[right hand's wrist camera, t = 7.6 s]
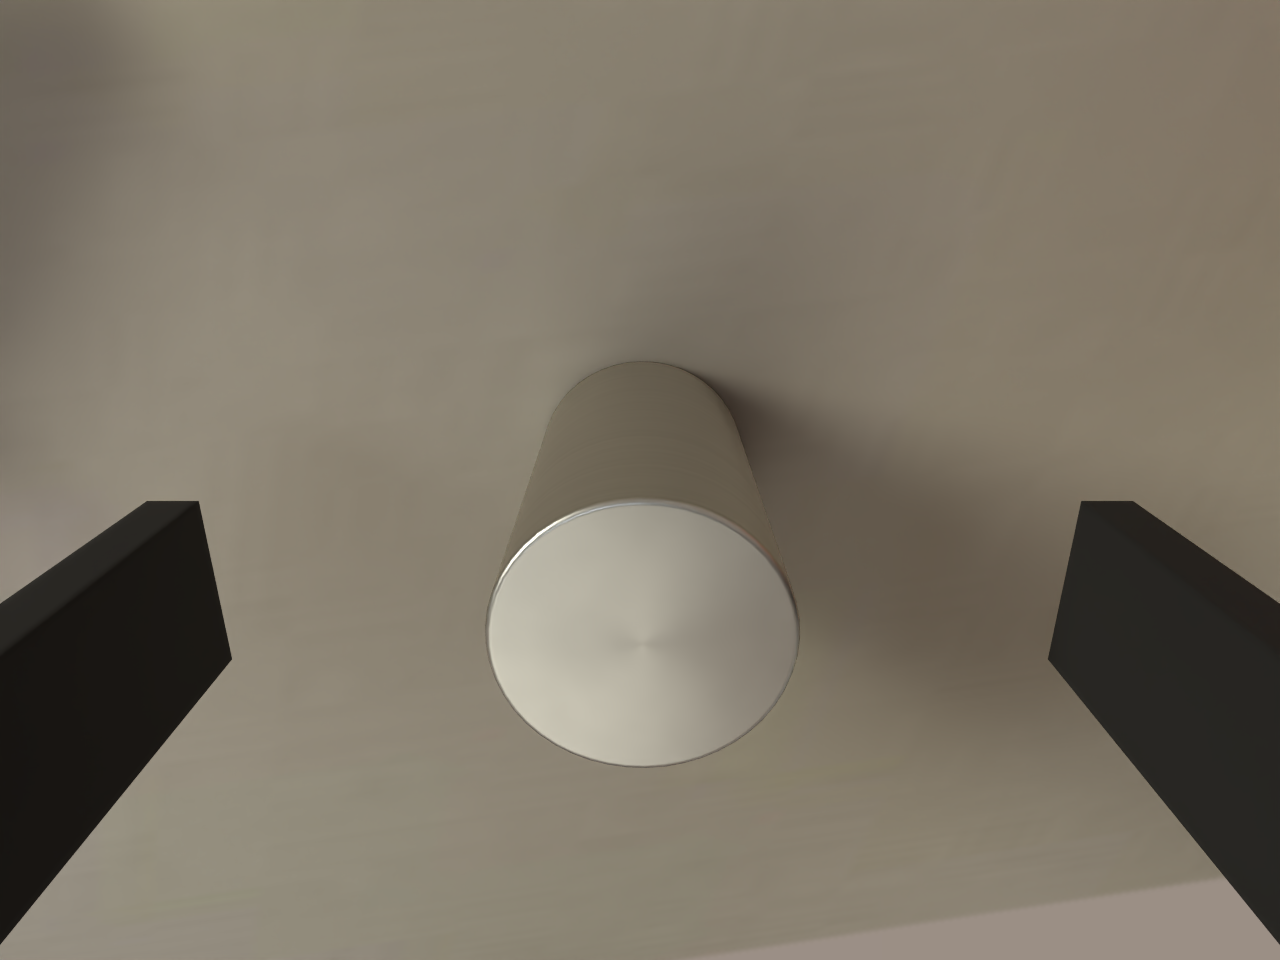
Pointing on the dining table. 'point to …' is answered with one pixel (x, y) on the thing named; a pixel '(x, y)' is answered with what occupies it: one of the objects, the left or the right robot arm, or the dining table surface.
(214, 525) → the dining table surface
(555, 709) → the canister
